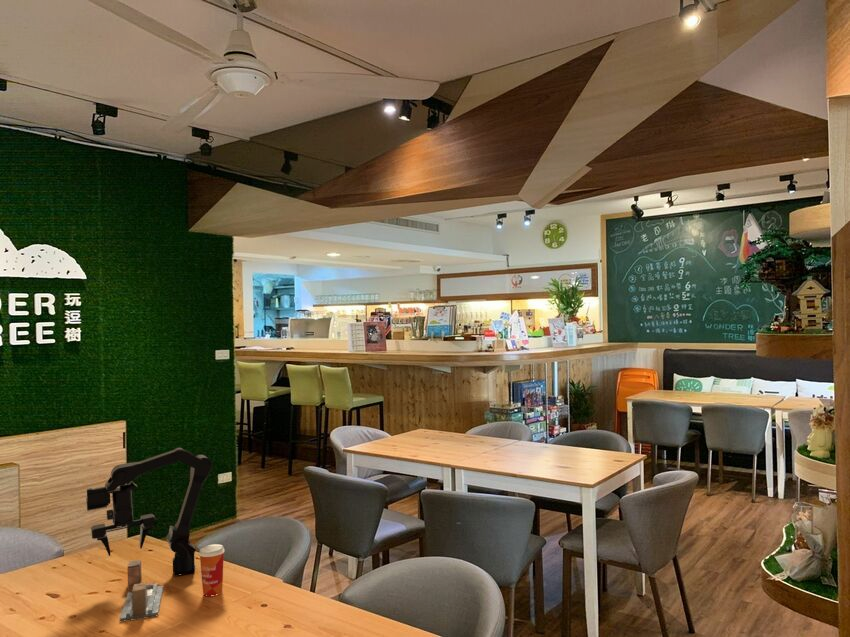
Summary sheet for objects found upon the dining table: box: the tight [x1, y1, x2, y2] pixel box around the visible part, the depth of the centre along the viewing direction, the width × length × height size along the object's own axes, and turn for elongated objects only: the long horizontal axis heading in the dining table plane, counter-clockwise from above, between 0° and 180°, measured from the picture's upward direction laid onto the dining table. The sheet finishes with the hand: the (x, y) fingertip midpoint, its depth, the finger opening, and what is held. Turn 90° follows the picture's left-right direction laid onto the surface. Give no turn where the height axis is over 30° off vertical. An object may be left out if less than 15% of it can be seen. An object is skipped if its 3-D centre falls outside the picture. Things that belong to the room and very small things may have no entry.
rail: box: [119, 582, 164, 622], centre depth 185 cm, size 10×20×8 cm, turn 19°
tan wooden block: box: [127, 559, 142, 589], centre depth 199 cm, size 4×6×7 cm, turn 19°
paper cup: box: [198, 543, 226, 596], centre depth 192 cm, size 8×8×14 cm
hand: (125, 552), depth 200 cm, fingers open, 9 cm apart
